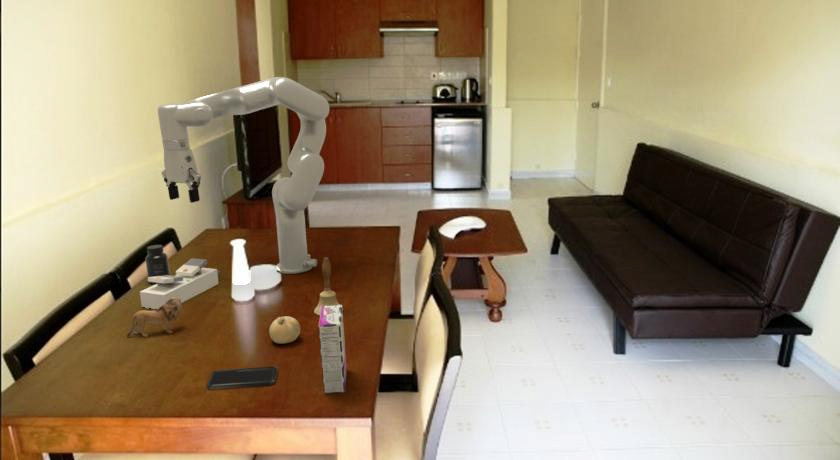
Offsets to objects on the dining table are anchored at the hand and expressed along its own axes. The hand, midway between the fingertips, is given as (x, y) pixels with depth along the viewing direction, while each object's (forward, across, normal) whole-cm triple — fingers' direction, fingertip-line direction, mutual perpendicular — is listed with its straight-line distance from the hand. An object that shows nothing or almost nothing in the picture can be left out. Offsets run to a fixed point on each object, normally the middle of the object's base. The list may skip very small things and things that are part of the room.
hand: (184, 200), depth 203 cm
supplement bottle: (+28, +15, +3) cm, 32 cm away
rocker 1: (+22, -4, +14) cm, 26 cm away
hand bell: (+29, -51, -5) cm, 59 cm away
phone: (+29, -60, +36) cm, 76 cm away
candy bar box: (+29, -79, +26) cm, 88 cm away
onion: (+29, -54, +16) cm, 63 cm away
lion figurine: (+28, -20, +29) cm, 45 cm away
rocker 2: (+22, -1, +2) cm, 22 cm away
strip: (+28, -2, +5) cm, 29 cm away
